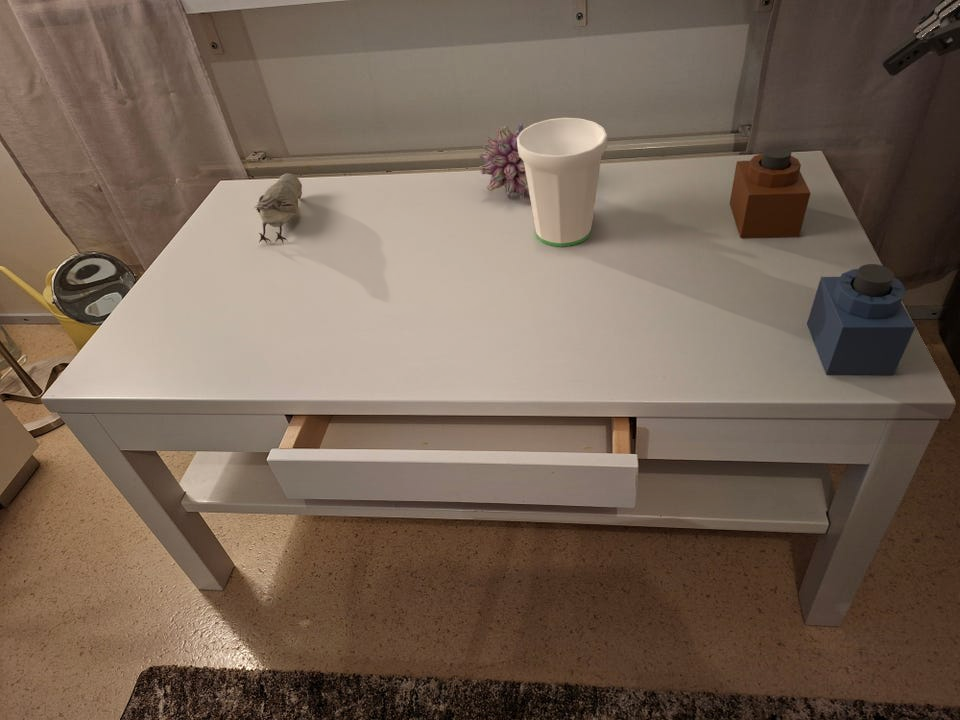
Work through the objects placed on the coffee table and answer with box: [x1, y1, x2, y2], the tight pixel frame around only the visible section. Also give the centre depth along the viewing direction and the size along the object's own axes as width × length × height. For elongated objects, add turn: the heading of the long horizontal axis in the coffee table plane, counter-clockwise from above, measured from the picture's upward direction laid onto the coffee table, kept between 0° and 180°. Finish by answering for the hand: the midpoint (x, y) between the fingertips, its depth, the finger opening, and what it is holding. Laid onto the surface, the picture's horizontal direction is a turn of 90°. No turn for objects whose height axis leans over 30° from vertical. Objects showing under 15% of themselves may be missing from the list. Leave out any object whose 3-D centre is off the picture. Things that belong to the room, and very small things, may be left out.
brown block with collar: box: [729, 152, 811, 239], centre depth 94 cm, size 10×8×9 cm
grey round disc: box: [761, 145, 792, 170], centre depth 91 cm, size 4×4×2 cm
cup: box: [517, 117, 608, 247], centre depth 95 cm, size 12×12×15 cm
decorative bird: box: [252, 172, 303, 245], centre depth 109 cm, size 5×16×8 cm, turn 176°
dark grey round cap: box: [853, 263, 895, 297], centre depth 70 cm, size 3×3×2 cm
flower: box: [477, 122, 530, 199], centre depth 107 cm, size 12×12×12 cm
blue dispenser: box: [806, 268, 916, 376], centre depth 73 cm, size 9×7×9 cm
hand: (885, 68), depth 74 cm, fingers closed
